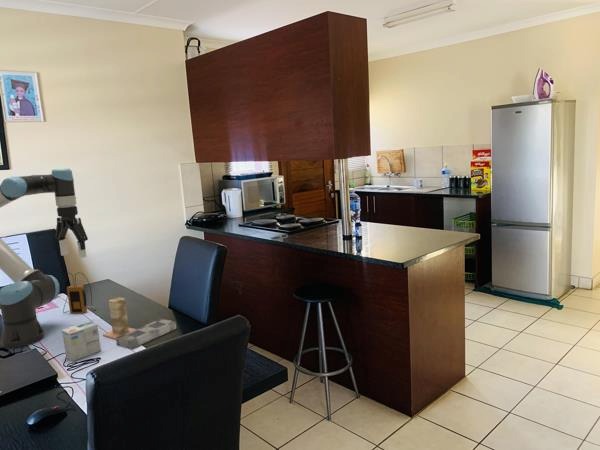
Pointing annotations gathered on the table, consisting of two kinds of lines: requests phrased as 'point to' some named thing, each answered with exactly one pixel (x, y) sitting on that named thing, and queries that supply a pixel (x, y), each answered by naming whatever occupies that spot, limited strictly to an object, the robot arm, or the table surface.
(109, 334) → the pad
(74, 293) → the multimeter
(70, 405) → the table surface
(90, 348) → the light bulb box
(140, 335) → the rail
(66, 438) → the table surface
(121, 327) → the peg
